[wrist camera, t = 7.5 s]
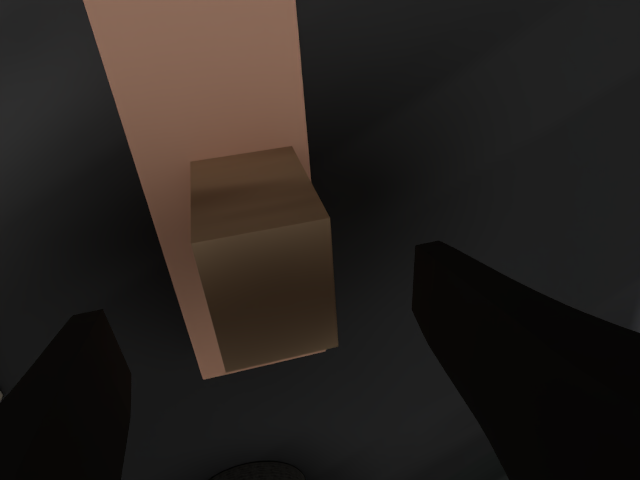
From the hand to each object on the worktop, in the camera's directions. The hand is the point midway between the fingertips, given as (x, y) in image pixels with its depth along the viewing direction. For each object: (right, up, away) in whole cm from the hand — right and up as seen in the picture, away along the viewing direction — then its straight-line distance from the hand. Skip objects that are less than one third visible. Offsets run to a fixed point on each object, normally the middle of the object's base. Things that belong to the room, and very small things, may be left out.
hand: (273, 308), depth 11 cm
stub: (-2, +3, +5) cm, 6 cm away
